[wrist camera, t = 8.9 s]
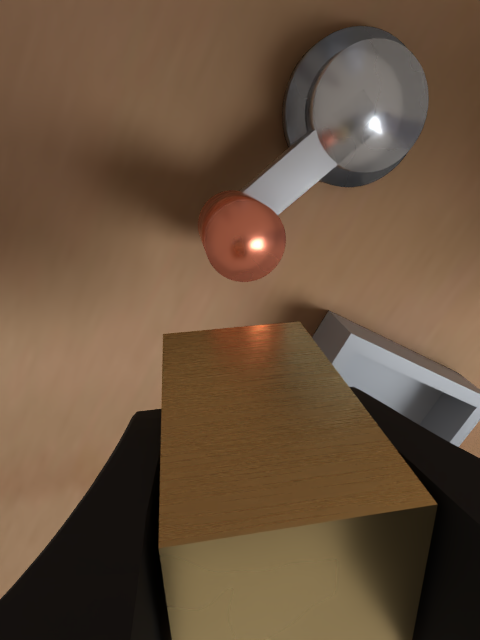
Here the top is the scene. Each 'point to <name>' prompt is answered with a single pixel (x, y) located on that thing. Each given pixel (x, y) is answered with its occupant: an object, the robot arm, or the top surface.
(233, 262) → the crank
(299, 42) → the top surface
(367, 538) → the block
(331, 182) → the bearing
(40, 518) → the top surface
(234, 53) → the top surface
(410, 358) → the tray
